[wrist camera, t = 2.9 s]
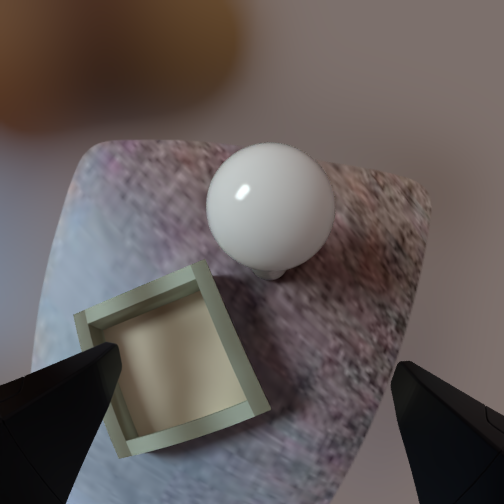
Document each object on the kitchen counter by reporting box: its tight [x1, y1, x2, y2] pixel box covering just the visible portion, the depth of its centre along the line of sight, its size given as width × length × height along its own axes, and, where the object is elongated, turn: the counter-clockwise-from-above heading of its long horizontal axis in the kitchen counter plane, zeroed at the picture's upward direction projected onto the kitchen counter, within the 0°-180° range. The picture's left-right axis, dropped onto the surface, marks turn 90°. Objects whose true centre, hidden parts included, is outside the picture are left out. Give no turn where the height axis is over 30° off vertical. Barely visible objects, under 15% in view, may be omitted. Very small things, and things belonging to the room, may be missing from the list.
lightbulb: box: [206, 143, 336, 280], centre depth 17 cm, size 6×6×11 cm
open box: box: [73, 259, 271, 459], centre depth 18 cm, size 10×10×3 cm
